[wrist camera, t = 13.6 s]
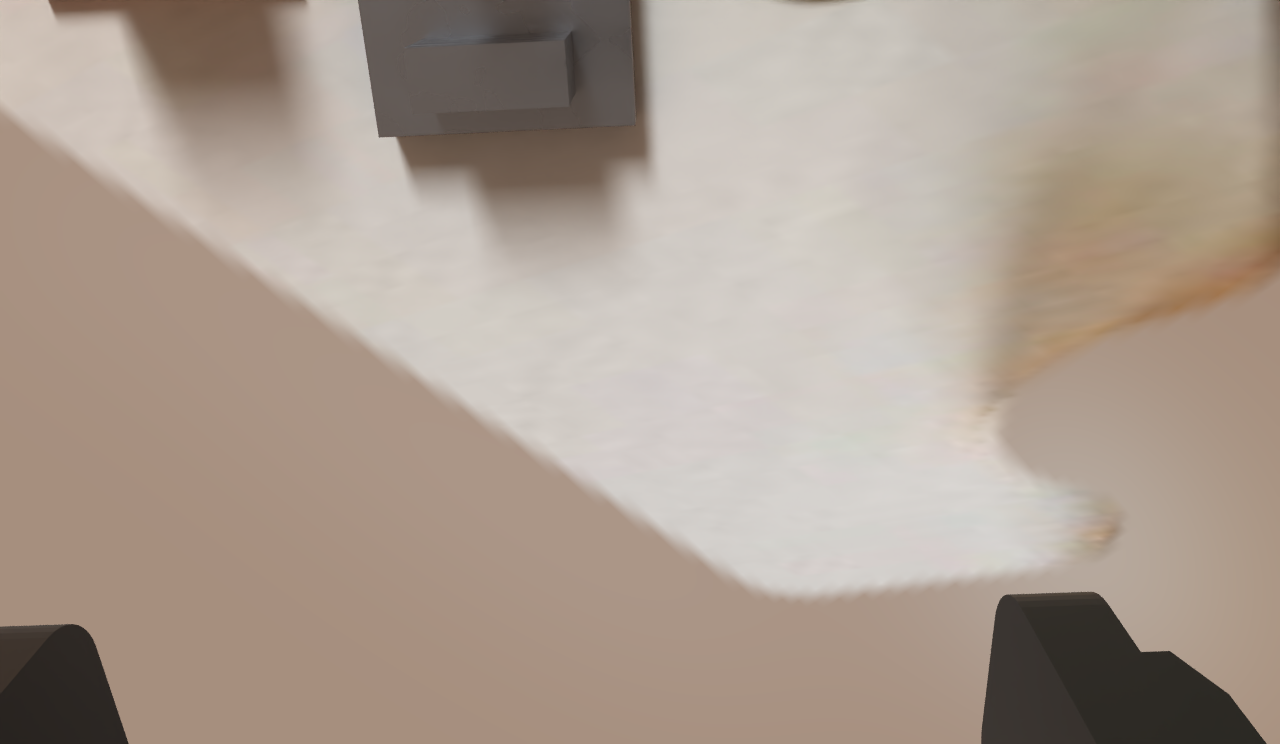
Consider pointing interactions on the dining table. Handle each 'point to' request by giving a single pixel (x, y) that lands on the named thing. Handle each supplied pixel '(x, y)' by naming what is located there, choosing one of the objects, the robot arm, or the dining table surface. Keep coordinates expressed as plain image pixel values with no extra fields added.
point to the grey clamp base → (498, 65)
